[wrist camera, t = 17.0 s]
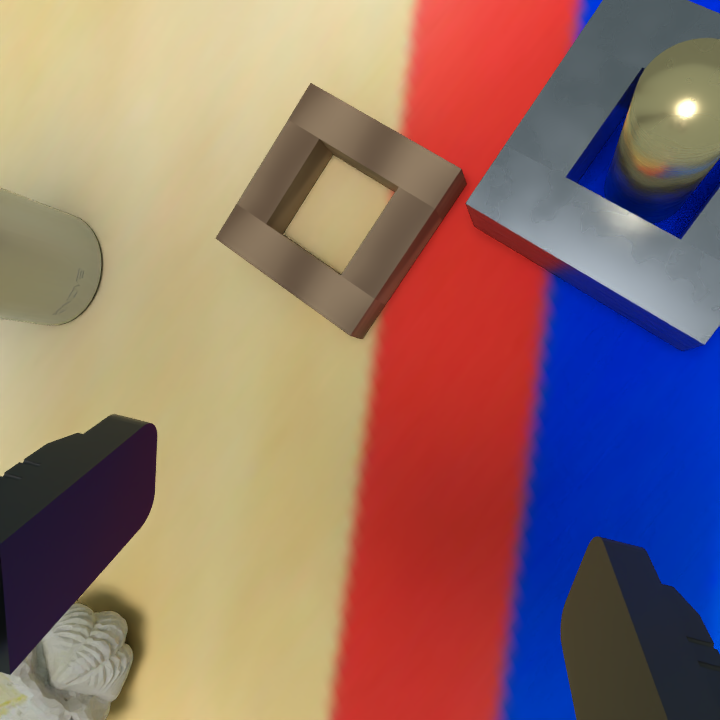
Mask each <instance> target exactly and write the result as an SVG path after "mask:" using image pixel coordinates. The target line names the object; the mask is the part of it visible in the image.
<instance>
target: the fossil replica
mask: <svg viewBox="0 0 720 720" xmlns="http://www.w3.org/2000/svg"><path fill="white" fill-rule="evenodd" d="M127 631H128V627H127V623H126V620H125V619H124V618H122V617H121V616H120V615H119V614H118V613H117V612H113V611H102V612H99V613H98V612H93V611H92V609H90V608H89V607H87V606H85V605H82V604H80V603H74V604H73V605H72V606H71V607H70V608H69V609H68V611H67V612H66V613H65V614H64V615H63V616H62V617H61V618H60V620H59V621H58V622H57V623H56V624H55V625H54V626H53V627H52V629H51V630H50V631H49V632H48V633H47V634H46V635H45V637H44V638H43V639H42V640H41V641H40V642H39V643H38V644H37V646H36V647H35V648H34V649H33V650H32V651H31V652H30V653H29V655H28V656H27V657H26V658H25V659H24V660H23V661H22V663H21V664H20V665H19V666H18V667H17V668H16V669H15V670H14V672H13V673H12V674H11V675H8V674H5V673H2V672H0V720H106V718H107V716H108V714H109V711H110V706H111V702H112V701H113V700H115V699H116V698H117V697H118V695H119V693H120V692H121V689H122V687H123V685H124V683H125V681H126V678H127V676H128V673H129V670H130V667H131V664H132V661H133V653H132V649H131V648H130V646H129V645H127V644H126V643H124V642H125V638H126V634H127Z"/></svg>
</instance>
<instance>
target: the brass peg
mask: <svg viewBox="0 0 720 720" xmlns="http://www.w3.org/2000/svg"><path fill="white" fill-rule="evenodd" d="M719 158H720V39H715V38H698V39H692V40H688V41H684V42H681V43H678V44H676V45H674V46H672V47H670V48H668V49H666V50H665V51H663V52H662V53H660V54H659V55H658V56H657V57H655V58H654V59H653V60H652V61H651V62H650V63H649V65H648V66H647V67H646V68H645V70H644V71H643V73H642V75H641V76H640V78H639V81H638V83H637V86H636V89H635V92H634V95H633V98H632V101H631V104H630V107H629V110H628V113H627V116H626V119H625V123H624V126H623V129H622V132H621V135H620V138H619V141H618V144H617V147H616V150H615V153H614V156H613V159H612V162H611V165H610V168H609V171H608V174H607V178H606V181H605V189H604V191H605V197H606V199H607V200H609V201H610V202H612V203H614V204H616V205H618V206H620V207H622V208H623V209H625V210H627V211H629V212H631V213H633V214H634V215H636V216H638V217H640V218H642V219H644V220H646V221H647V222H649V223H651V224H652V223H656V222H660V221H662V220H665V219H667V218H669V217H670V216H672V215H673V214H675V213H676V212H677V211H678V210H679V209H680V208H681V207H682V205H683V204H684V203H685V202H686V200H687V199H688V198H689V197H690V195H691V194H692V193H693V191H694V190H695V189H696V188H697V186H698V185H699V184H700V183H701V181H702V180H703V179H704V177H705V176H706V175H707V174H708V172H709V171H710V170H711V169H712V167H713V166H714V165H715V163H716V162H717V161H718V160H719Z"/></svg>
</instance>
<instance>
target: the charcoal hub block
mask: <svg viewBox="0 0 720 720" xmlns="http://www.w3.org/2000/svg"><path fill="white" fill-rule="evenodd" d="M698 38H715V39H720V14H719V13H717V12H715V11H712V10H710V9H707V8H705V7H702V6H700V5H698V4H695V3H693V2H690V1H688V0H603V1H602V2H601V4H600V5H599V7H598V8H597V10H596V11H595V13H594V14H593V16H592V17H591V19H590V20H589V22H588V23H587V25H586V26H585V27H584V29H583V30H582V32H581V33H580V35H579V36H578V38H577V39H576V41H575V42H574V44H573V45H572V47H571V48H570V50H569V51H568V53H567V54H566V56H565V57H564V59H563V60H562V61H561V63H560V64H559V66H558V67H557V69H556V70H555V72H554V73H553V75H552V76H551V78H550V79H549V81H548V82H547V84H546V85H545V87H544V88H543V90H542V91H541V93H540V94H539V96H538V97H537V98H536V100H535V101H534V103H533V104H532V106H531V107H530V109H529V110H528V112H527V113H526V115H525V116H524V118H523V119H522V121H521V122H520V124H519V125H518V127H517V128H516V130H515V131H514V132H513V134H512V135H511V137H510V138H509V140H508V141H507V143H506V144H505V146H504V147H503V149H502V150H501V152H500V153H499V155H498V156H497V158H496V159H495V161H494V162H493V164H492V165H491V167H490V168H489V169H488V171H487V172H486V174H485V175H484V177H483V178H482V180H481V181H480V183H479V184H478V186H477V187H476V189H475V190H474V192H473V193H472V195H471V196H470V198H469V199H468V201H467V202H466V206H467V209H468V211H469V214H470V216H471V219H472V221H473V224H474V226H475V227H476V228H478V229H480V230H481V231H483V232H485V233H486V234H488V235H490V236H491V237H493V238H495V239H496V240H498V241H500V242H501V243H503V244H505V245H506V246H508V247H510V248H511V249H513V250H515V251H516V252H518V253H520V254H521V255H523V256H525V257H526V258H528V259H529V260H531V261H533V262H534V263H536V264H538V265H539V266H541V267H543V268H544V269H546V270H548V271H549V272H551V273H553V274H554V275H556V276H558V277H559V278H561V279H563V280H564V281H566V282H568V283H569V284H571V285H573V286H574V287H576V288H578V289H579V290H581V291H583V292H584V293H586V294H588V295H589V296H591V297H593V298H594V299H596V300H598V301H599V302H601V303H603V304H604V305H606V306H608V307H609V308H611V309H613V310H614V311H616V312H618V313H619V314H621V315H623V316H624V317H626V318H628V319H629V320H631V321H633V322H634V323H636V324H637V325H639V326H641V327H642V328H644V329H646V330H647V331H649V332H651V333H652V334H654V335H656V336H657V337H659V338H661V339H662V340H664V341H666V342H667V343H669V344H671V345H672V346H674V347H676V348H677V349H679V350H681V351H684V350H688V349H691V348H695V347H698V346H702V345H705V343H706V342H707V341H708V339H709V338H710V337H711V336H712V334H713V333H714V332H715V330H716V329H717V328H718V327H719V325H720V182H719V184H718V185H717V186H716V188H715V189H714V191H713V192H712V193H711V195H710V196H709V197H708V199H707V200H706V201H705V203H704V204H703V205H702V207H701V208H700V209H699V211H698V212H697V213H696V215H695V216H694V217H693V219H692V220H691V221H690V223H689V224H688V226H687V227H686V228H685V230H684V231H683V232H682V234H681V235H680V236H679V238H677V237H675V236H673V235H671V234H670V233H668V232H666V231H664V230H662V229H660V228H658V227H657V226H655V225H653V224H651V223H649V222H647V221H646V220H644V219H642V218H640V217H638V216H636V215H634V214H633V213H631V212H629V211H627V210H625V209H623V208H622V207H620V206H618V205H616V204H614V203H612V202H610V201H609V200H607V199H605V198H603V197H601V196H599V195H598V194H596V193H594V192H592V191H590V190H588V189H586V188H585V187H583V186H581V185H579V184H577V183H578V181H579V180H580V178H581V177H582V176H583V174H584V173H585V171H586V170H587V169H588V167H589V166H590V164H591V163H592V161H593V160H594V159H595V157H596V156H597V154H598V153H599V151H600V150H601V149H602V147H603V146H604V144H605V143H606V141H607V140H608V139H609V137H610V136H611V134H612V133H613V132H614V130H615V129H616V127H617V126H618V124H619V123H620V122H621V120H622V119H623V117H624V116H625V114H626V113H627V112H628V110H629V107H630V104H631V101H632V98H633V95H634V92H635V89H636V86H637V83H638V81H639V78H640V76H641V75H642V73H643V71H644V70H645V68H646V67H647V66H648V65H649V63H650V62H651V61H652V60H653V59H654V58H655V57H657V56H658V55H659V54H660V53H662V52H663V51H665V50H666V49H668V48H670V47H672V46H674V45H676V44H678V43H681V42H684V41H688V40H692V39H698Z"/></svg>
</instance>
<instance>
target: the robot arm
mask: <svg viewBox="0 0 720 720" xmlns="http://www.w3.org/2000/svg"><path fill="white" fill-rule="evenodd" d="M101 265H102V264H101V252H100V248H99V244H98V241H97V239H96V237H95V235H94V233H93V231H92V230H91V229H90V227H89V226H88V225H87V224H86V223H85V222H83V221H82V220H81V219H80V218H78V217H75V216H73V215H70V214H68V213H65V212H62V211H60V210H57V209H54V208H52V207H49V206H47V205H44V204H41V203H39V202H36V201H34V200H31V199H29V198H26V197H23V196H21V195H18V194H16V193H13V192H10V191H8V190H5V189H2V188H0V319H6V320H13V321H21V322H28V323H35V324H43V325H60V324H63V323H67V322H69V321H71V320H72V319H74V318H76V317H77V316H78V315H79V314H80V313H81V312H83V311H84V310H85V308H86V307H87V306H88V304H89V303H90V301H91V300H92V298H93V296H94V294H95V292H96V290H97V287H98V283H99V280H100V275H101ZM156 453H157V430H156V427H155V425H153V424H152V423H148V422H144V421H140V420H136V419H132V418H128V417H124V416H120V415H116V414H113V415H110V416H108V417H107V418H105V419H104V420H102V421H101V422H100V423H98V424H97V425H95V426H94V427H93V428H91V429H90V430H88V431H87V432H86V433H84V434H80V433H76V434H73V435H70V436H67V437H64V438H62V439H59V440H56V441H53V442H50V443H48V444H46V445H45V446H43V447H42V448H40V449H39V450H37V451H36V452H34V453H33V454H31V455H30V456H28V457H27V458H25V459H24V462H23V463H20V462H19V463H18V464H16V465H15V466H14V467H12V468H11V469H9V470H8V471H6V472H5V474H4V476H3V477H1V476H0V672H2V673H5V674H8V675H11V674H12V673H13V672H14V670H15V669H16V668H17V667H18V666H19V665H20V664H21V663H22V661H23V660H24V659H25V658H26V657H27V656H28V655H29V653H30V652H31V651H32V650H33V649H34V648H35V647H36V646H37V644H38V643H39V642H40V641H41V640H42V639H43V638H44V637H45V635H46V634H47V633H48V632H49V631H50V630H51V629H52V627H53V626H54V625H55V624H56V623H57V622H58V621H59V620H60V618H61V617H62V616H63V615H64V614H65V613H66V612H67V611H68V609H69V608H70V607H71V606H72V605H73V604H74V603H75V601H76V600H77V599H78V598H79V597H80V596H81V595H82V594H83V592H84V591H85V590H86V589H87V588H88V587H89V586H90V585H91V583H92V582H93V581H94V580H95V579H96V578H97V577H98V575H99V574H100V573H101V572H102V571H103V570H104V569H105V568H106V566H107V565H108V564H109V563H110V562H111V561H112V560H113V559H114V557H115V556H116V555H117V554H118V553H119V552H120V551H121V549H122V548H123V547H124V546H125V545H126V544H127V543H128V542H129V540H130V539H131V538H132V537H133V536H134V535H135V534H136V533H137V531H138V530H139V529H140V528H141V527H142V525H143V524H144V522H145V521H146V519H147V517H148V515H149V513H150V510H151V508H152V504H153V501H154V495H155V476H156ZM561 643H562V649H563V654H564V659H565V664H566V669H567V674H568V679H569V684H570V689H571V694H572V699H573V704H574V709H575V714H576V719H577V720H720V654H719V652H718V650H717V649H714V647H713V646H714V643H713V641H712V639H711V637H710V635H709V633H708V631H707V629H706V627H705V625H704V623H703V621H702V619H701V617H700V615H699V614H698V613H697V612H696V611H695V610H694V609H693V608H692V606H691V605H690V604H689V603H688V602H687V601H686V600H685V599H684V598H683V597H682V596H681V595H680V594H679V592H678V591H677V590H676V589H675V588H674V587H672V586H668V585H664V584H661V582H660V579H659V577H658V575H657V573H656V571H655V569H654V566H653V564H652V562H651V560H650V558H649V556H648V554H647V552H646V551H645V549H643V548H642V547H638V546H634V545H630V544H626V543H622V542H618V541H614V540H610V539H606V538H602V537H598V536H597V537H594V538H593V539H592V540H591V542H590V543H589V545H588V547H587V550H586V552H585V555H584V557H583V560H582V562H581V565H580V567H579V570H578V572H577V575H576V577H575V580H574V582H573V585H572V587H571V590H570V592H569V595H568V597H567V600H566V602H565V605H564V609H563V613H562V619H561Z"/></svg>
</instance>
